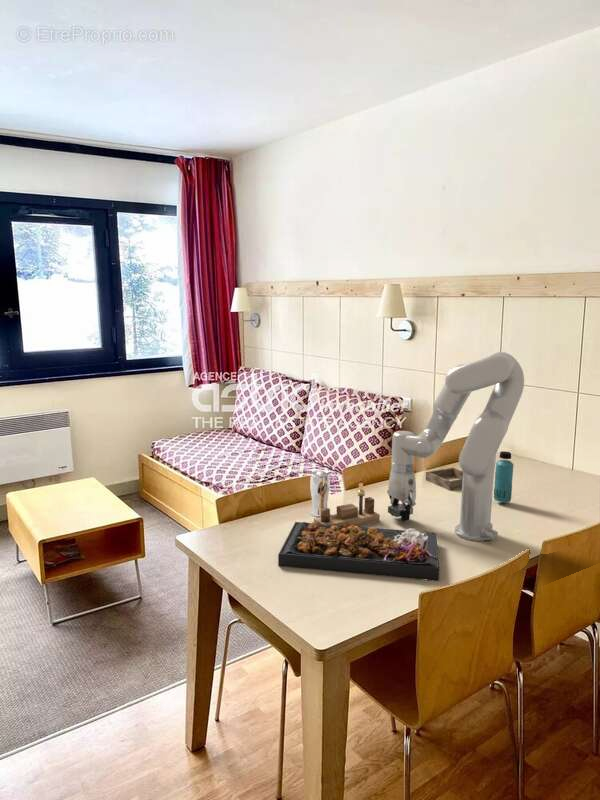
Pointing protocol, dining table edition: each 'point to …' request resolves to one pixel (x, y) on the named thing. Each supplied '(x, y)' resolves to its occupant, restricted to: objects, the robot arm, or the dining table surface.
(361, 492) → the lever
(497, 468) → the beverage bottle
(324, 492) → the beer glass
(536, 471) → the dining table surface
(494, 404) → the robot arm
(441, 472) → the square wooden tray
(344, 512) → the wooden post stand
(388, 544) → the food platter
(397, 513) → the grey rectangular block
